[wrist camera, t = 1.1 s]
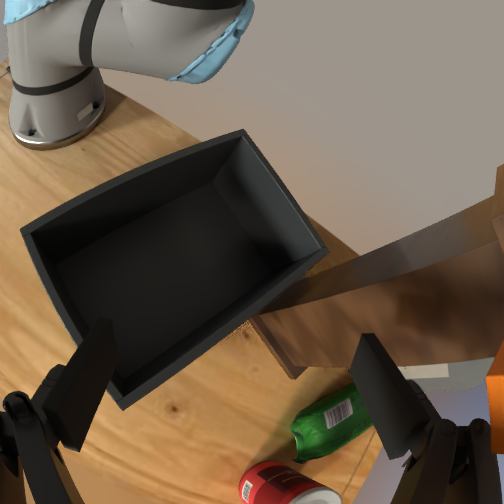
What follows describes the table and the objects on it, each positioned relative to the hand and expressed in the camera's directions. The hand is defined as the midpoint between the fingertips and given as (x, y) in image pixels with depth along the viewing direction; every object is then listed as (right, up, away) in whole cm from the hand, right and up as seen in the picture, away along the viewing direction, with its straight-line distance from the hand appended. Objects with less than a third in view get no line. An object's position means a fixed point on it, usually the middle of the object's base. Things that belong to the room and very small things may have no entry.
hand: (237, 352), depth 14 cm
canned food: (+2, -25, +14) cm, 29 cm away
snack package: (+11, -18, +21) cm, 30 cm away
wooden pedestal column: (+6, -4, +23) cm, 24 cm away
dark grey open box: (-9, +3, +18) cm, 20 cm away
